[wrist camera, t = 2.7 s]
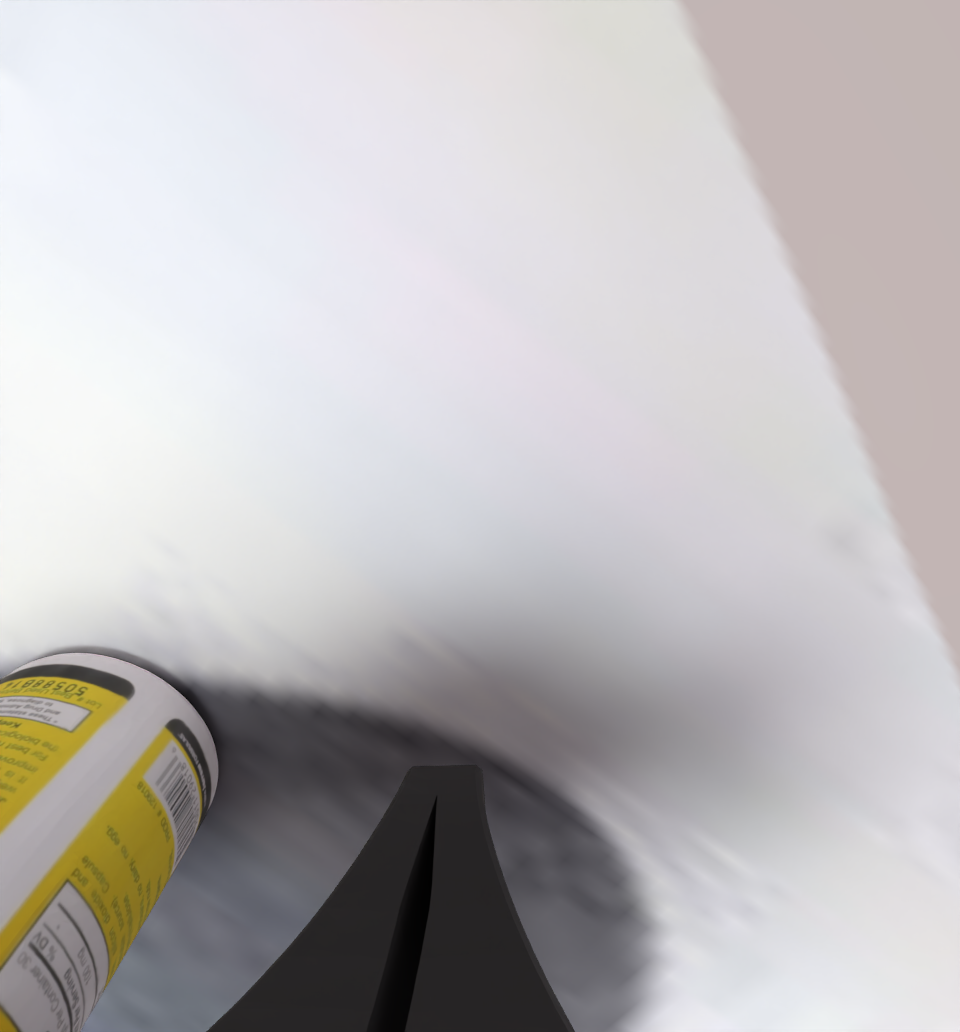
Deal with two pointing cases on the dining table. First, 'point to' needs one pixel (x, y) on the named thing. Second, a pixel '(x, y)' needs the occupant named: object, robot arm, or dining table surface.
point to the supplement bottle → (88, 825)
